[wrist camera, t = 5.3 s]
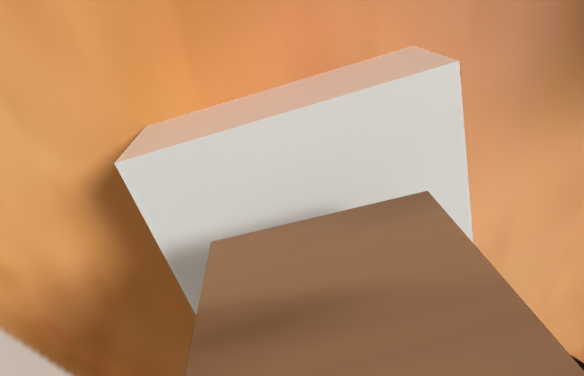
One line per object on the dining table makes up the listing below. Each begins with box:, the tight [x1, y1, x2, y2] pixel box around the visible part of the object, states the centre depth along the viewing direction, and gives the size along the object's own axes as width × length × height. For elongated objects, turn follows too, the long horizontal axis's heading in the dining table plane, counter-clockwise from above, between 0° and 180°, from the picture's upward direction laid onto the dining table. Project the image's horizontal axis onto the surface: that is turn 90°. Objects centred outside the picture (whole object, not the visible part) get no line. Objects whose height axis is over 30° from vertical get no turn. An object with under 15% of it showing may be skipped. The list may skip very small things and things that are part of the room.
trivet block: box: [114, 46, 473, 315], centre depth 13 cm, size 9×9×4 cm
